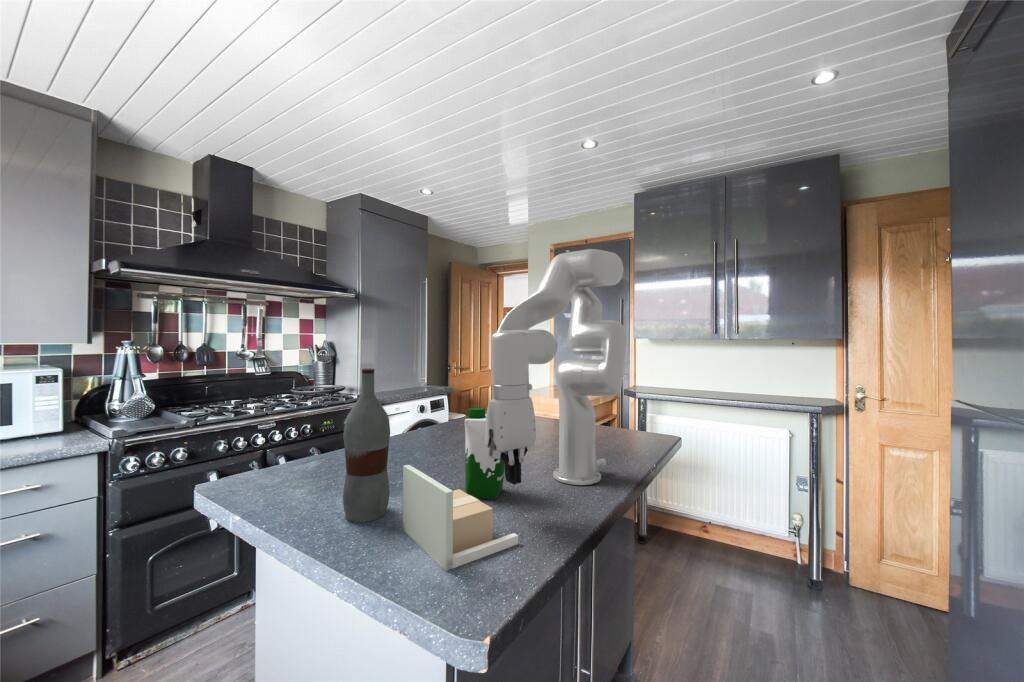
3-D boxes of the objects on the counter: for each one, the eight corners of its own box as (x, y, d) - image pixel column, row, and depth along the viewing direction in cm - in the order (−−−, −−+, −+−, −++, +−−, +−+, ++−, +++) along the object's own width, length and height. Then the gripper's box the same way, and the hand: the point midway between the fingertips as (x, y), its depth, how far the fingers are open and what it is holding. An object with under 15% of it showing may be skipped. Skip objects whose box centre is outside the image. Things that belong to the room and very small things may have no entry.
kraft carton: (459, 518, 80) (459, 488, 80) (492, 542, 70) (492, 507, 70) (412, 532, 74) (412, 499, 74) (442, 560, 64) (442, 522, 64)
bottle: (337, 511, 82) (338, 368, 83) (380, 501, 88) (382, 367, 89) (349, 527, 75) (351, 370, 76) (396, 515, 81) (398, 369, 81)
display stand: (467, 511, 83) (467, 453, 83) (518, 544, 69) (518, 475, 69) (402, 529, 75) (403, 465, 75) (445, 571, 61) (446, 492, 61)
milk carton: (472, 485, 98) (472, 405, 99) (507, 488, 97) (507, 406, 97) (460, 498, 90) (461, 411, 90) (499, 502, 88) (499, 412, 88)
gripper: (527, 386, 87) (529, 468, 88) (469, 394, 78) (472, 486, 79) (550, 389, 81) (552, 477, 82) (490, 399, 72) (493, 498, 73)
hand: (513, 481), depth 80 cm, fingers closed
